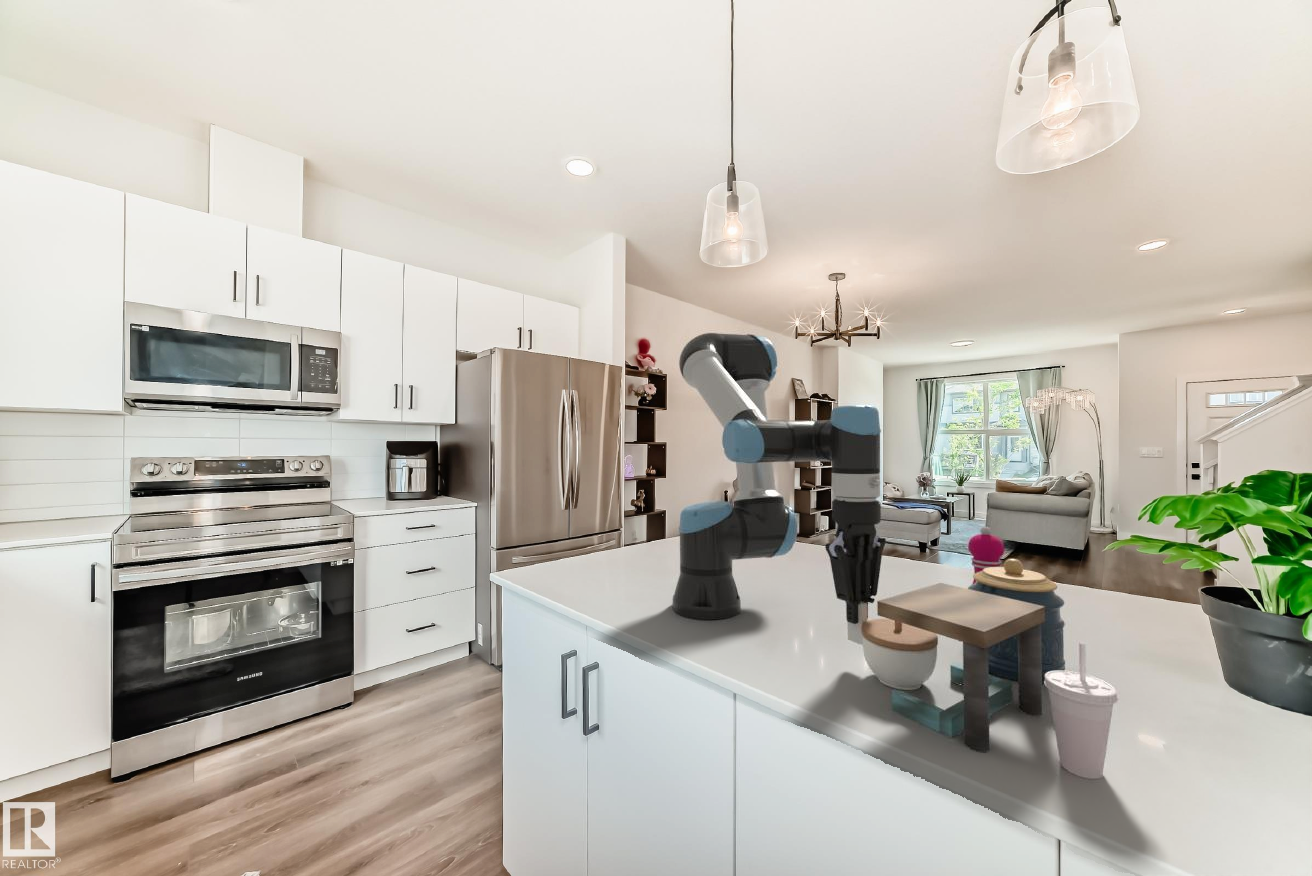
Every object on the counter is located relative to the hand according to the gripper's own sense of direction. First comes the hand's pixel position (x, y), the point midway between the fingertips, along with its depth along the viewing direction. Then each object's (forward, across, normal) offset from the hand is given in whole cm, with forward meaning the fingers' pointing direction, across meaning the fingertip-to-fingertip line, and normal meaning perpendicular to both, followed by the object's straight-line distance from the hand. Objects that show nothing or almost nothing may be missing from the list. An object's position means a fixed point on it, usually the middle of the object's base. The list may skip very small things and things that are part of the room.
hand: (857, 641), depth 84 cm
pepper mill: (+4, +36, -3) cm, 36 cm away
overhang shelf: (+4, 0, -16) cm, 17 cm away
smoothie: (+4, -2, -30) cm, 31 cm away
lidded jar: (+4, +1, -7) cm, 8 cm away
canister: (+4, +21, -14) cm, 26 cm away
